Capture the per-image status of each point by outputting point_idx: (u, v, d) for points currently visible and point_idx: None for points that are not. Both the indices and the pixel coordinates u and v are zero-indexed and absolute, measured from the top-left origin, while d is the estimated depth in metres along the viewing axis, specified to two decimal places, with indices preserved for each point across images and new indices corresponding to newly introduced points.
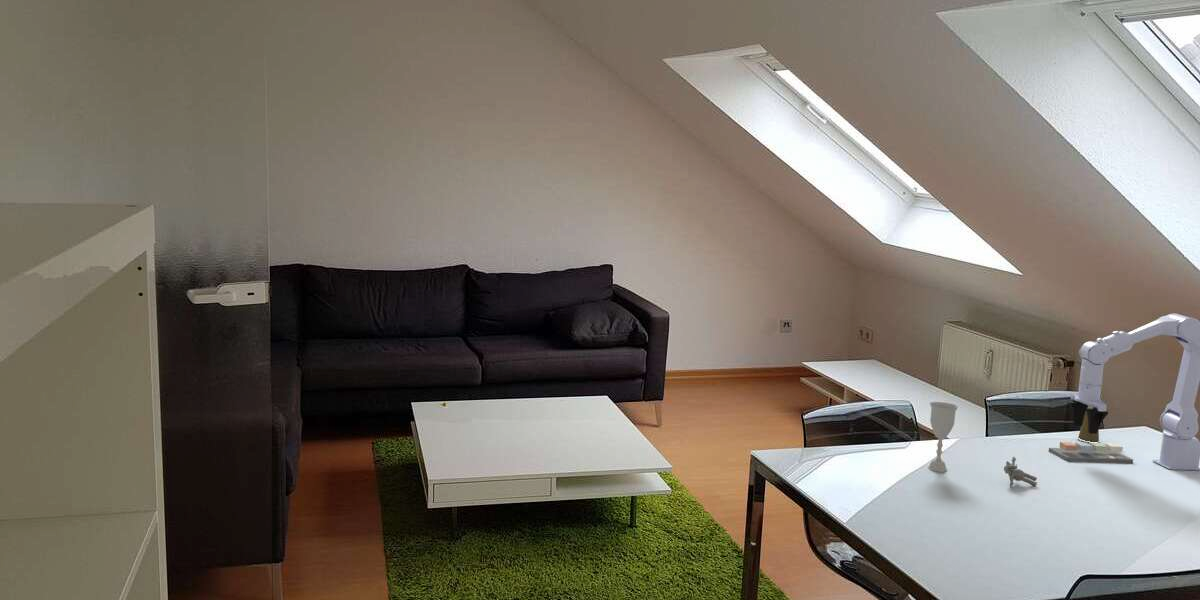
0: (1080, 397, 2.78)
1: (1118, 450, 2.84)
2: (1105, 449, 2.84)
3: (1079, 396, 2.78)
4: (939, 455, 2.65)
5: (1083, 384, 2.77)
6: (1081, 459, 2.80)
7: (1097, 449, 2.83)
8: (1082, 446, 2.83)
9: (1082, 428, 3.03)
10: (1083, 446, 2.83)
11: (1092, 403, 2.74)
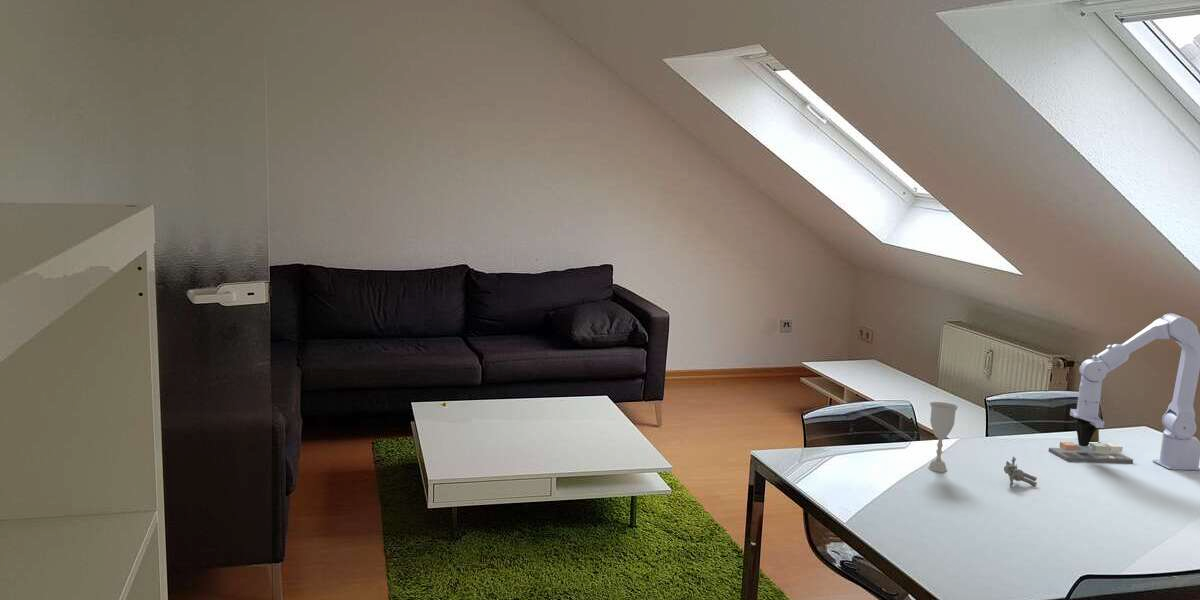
0: (1078, 414, 2.83)
1: (1118, 450, 2.84)
2: (1105, 449, 2.84)
3: (1077, 413, 2.83)
4: (939, 455, 2.65)
5: (1081, 401, 2.82)
6: (1081, 459, 2.80)
7: (1097, 449, 2.83)
8: (1082, 447, 2.83)
9: None
10: (1083, 447, 2.83)
11: (1090, 420, 2.79)
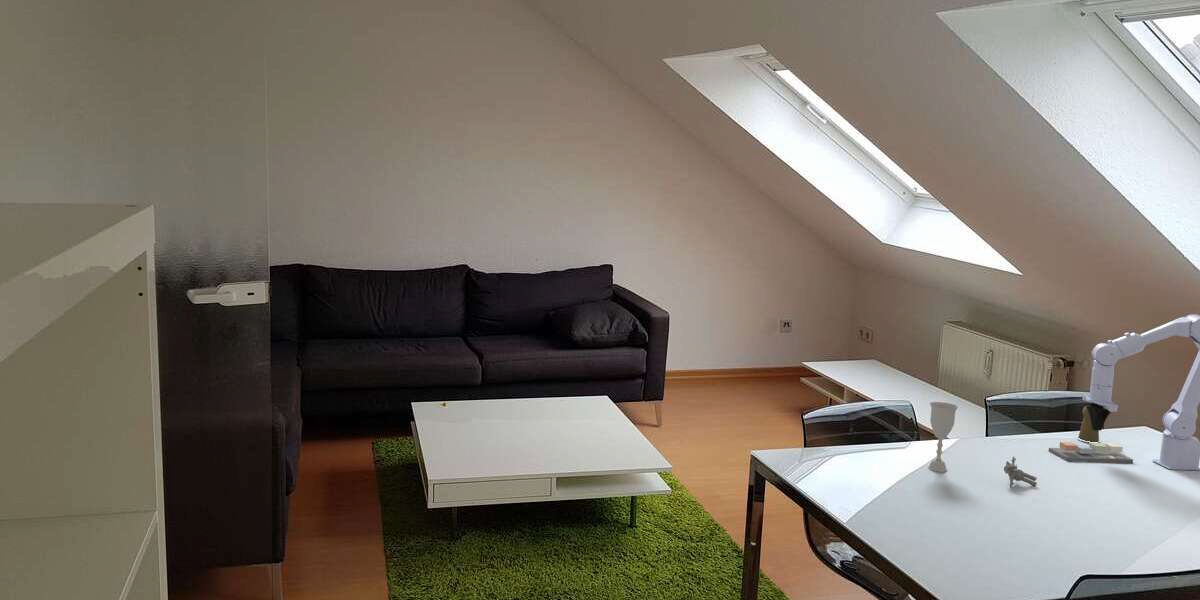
0: (1091, 398, 2.82)
1: (1118, 450, 2.84)
2: (1105, 449, 2.84)
3: (1090, 397, 2.83)
4: (939, 455, 2.65)
5: (1094, 385, 2.81)
6: (1081, 459, 2.80)
7: (1097, 449, 2.83)
8: (1082, 449, 2.83)
9: (1082, 428, 3.03)
10: (1083, 449, 2.83)
11: (1103, 404, 2.79)
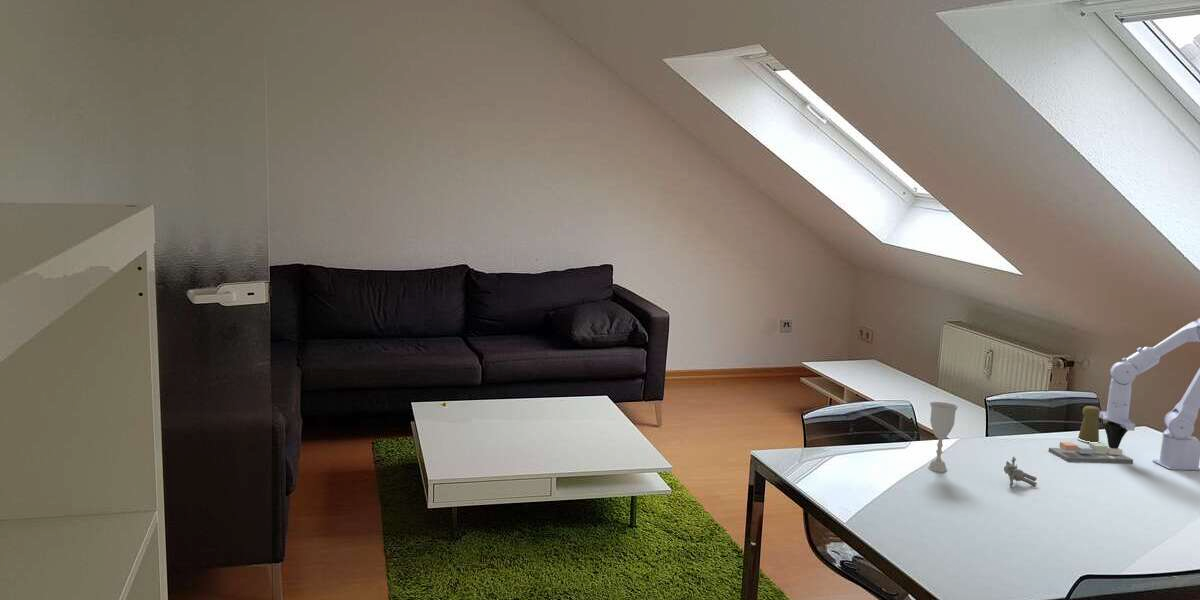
0: (1108, 416, 2.84)
1: (1117, 452, 2.84)
2: (1105, 449, 2.84)
3: (1107, 415, 2.84)
4: (939, 455, 2.65)
5: (1112, 403, 2.82)
6: (1081, 459, 2.80)
7: (1097, 449, 2.83)
8: (1082, 449, 2.83)
9: (1082, 428, 3.03)
10: (1083, 449, 2.83)
11: (1120, 422, 2.80)
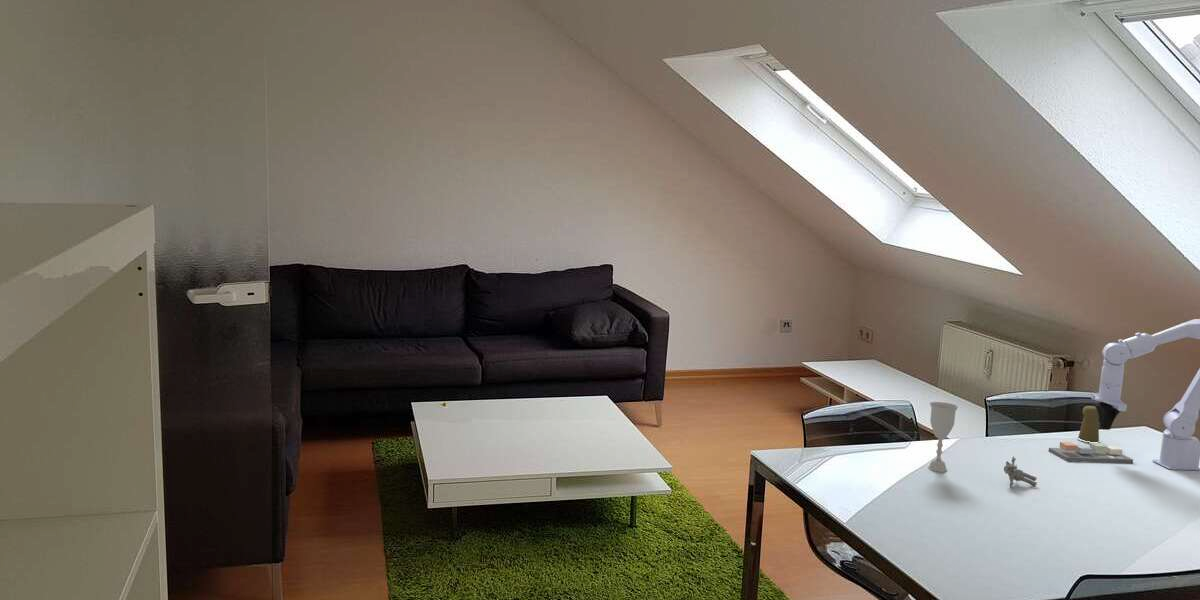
0: (1101, 397, 2.83)
1: (1117, 452, 2.84)
2: (1105, 449, 2.84)
3: (1100, 396, 2.83)
4: (939, 455, 2.65)
5: (1104, 384, 2.82)
6: (1081, 459, 2.80)
7: (1097, 449, 2.83)
8: (1082, 449, 2.83)
9: (1082, 428, 3.03)
10: (1083, 449, 2.83)
11: (1112, 403, 2.79)
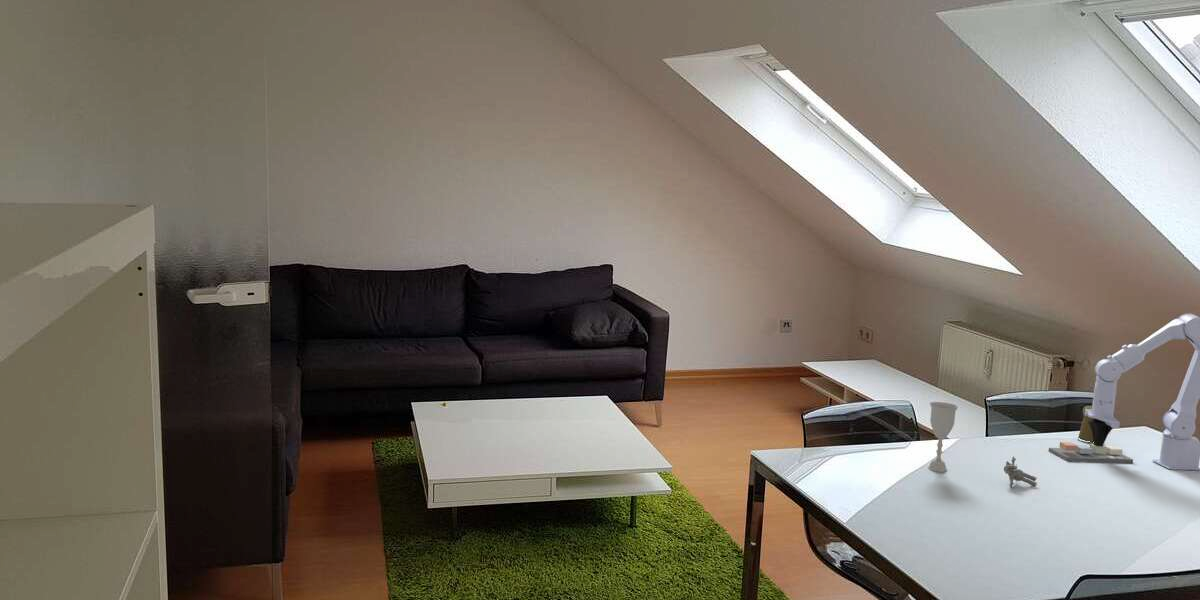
0: (1094, 414, 2.83)
1: (1117, 452, 2.84)
2: (1105, 450, 2.84)
3: (1093, 413, 2.84)
4: (939, 455, 2.65)
5: (1097, 401, 2.82)
6: (1081, 459, 2.80)
7: (1097, 450, 2.83)
8: (1082, 449, 2.83)
9: (1082, 428, 3.03)
10: (1083, 449, 2.83)
11: (1105, 420, 2.79)
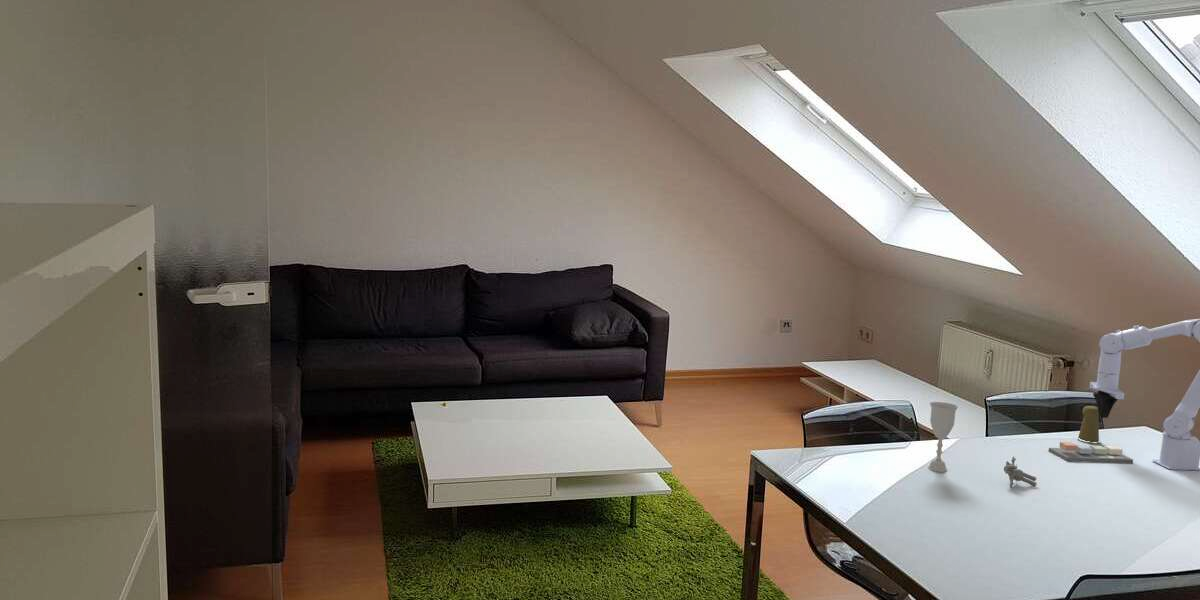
0: (1098, 386, 2.89)
1: (1117, 452, 2.84)
2: (1105, 452, 2.84)
3: (1098, 385, 2.90)
4: (939, 455, 2.65)
5: (1101, 373, 2.88)
6: (1081, 459, 2.80)
7: (1097, 452, 2.84)
8: (1082, 449, 2.83)
9: (1082, 428, 3.03)
10: (1083, 449, 2.83)
11: (1110, 391, 2.86)
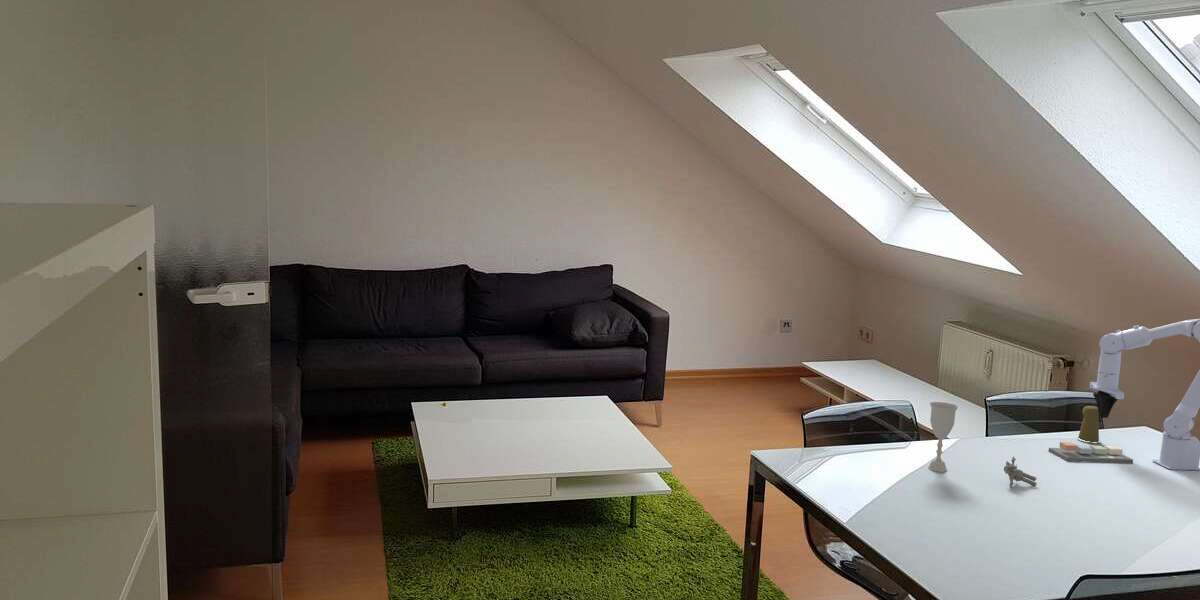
0: (1098, 386, 2.89)
1: (1117, 452, 2.84)
2: (1105, 452, 2.84)
3: (1098, 385, 2.90)
4: (939, 455, 2.65)
5: (1101, 373, 2.88)
6: (1081, 459, 2.80)
7: (1097, 452, 2.84)
8: (1082, 449, 2.83)
9: (1082, 428, 3.03)
10: (1083, 449, 2.83)
11: (1110, 391, 2.86)
